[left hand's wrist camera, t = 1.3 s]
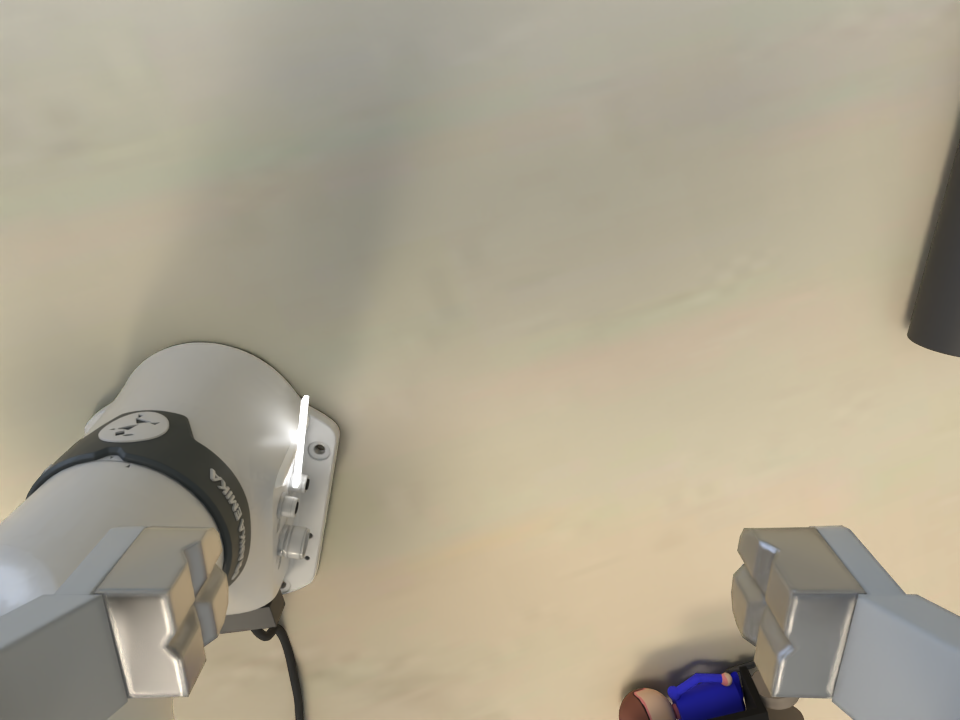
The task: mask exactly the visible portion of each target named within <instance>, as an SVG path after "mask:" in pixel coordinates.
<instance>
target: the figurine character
mask: <svg viewBox="0 0 960 720" xmlns="http://www.w3.org/2000/svg"><path fill="white" fill-rule="evenodd" d="M755 666H756V664H755V662H754V661H751V662H748V663H745V664H741V665H738V666H735V667H732V668H729V669H727V670H726V671H725V672H724V673H722V674H705V673H695V674H694V675H693V676H691V677H690V678H689V679H687V680H686V681H684V682H683V683H681V684H680V685H678V686H677V687H676V686H670V687H669V688H668V690H667V692H668V695H669V697H670V698H671V699H672V702H673V704H672V705H671V703H670V702H669V701H668V699H667V698H666V697H665V696H664V695H663V694H661V693H660V692H658V691H656V690H654V689H651V688H638V689H635V690H633V691H631V692H630V693H629V694H628V695H627V696H626V697H625V698H624V699H623V701H622V703H621V706H620V710H619V720H676V718H677V720H678V719H679V720H804V718H803V715H802V713H801V712H800V711H799V710H798V709H797V708H795V707H794V706H793V705H794V704H795V703H796V702H797V701H798V699H799V698H797V697H772V696H771V694H770V692H769V690H768V688H767V686H766V684H765V682H764V680H763V678H762V676H761V674H760V672H759V670H757V671H756V672H755V673H754V674H753V676H752V678H751V675H750V673H749V671H748V669H751V668H754V667H755ZM738 672H740V675H741V681H742V687H741V683H740V680H739V676H738ZM698 683H700V684H698ZM743 697H744V699H745V704H746V707H745V704H744V701H743Z"/></svg>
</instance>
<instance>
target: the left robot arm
mask: <svg viewBox="0 0 960 720" xmlns="http://www.w3.org/2000/svg"><path fill="white" fill-rule="evenodd" d="M308 400H309V396H305V395H304V397H303V399H301V398H300V396H299V395H298V394H297V393H296V391H295V390H294V389H293V388H292V386H291V385H290V384H289V383H288V382H287V381H286V380H285V378H284V377H283V376H282V375H280V374H279V373H278V372H277V371H276V370H275V369H274V368H272V367H271V366H270V365H268V364H267V363H265V362H264V361H262V360H261V359H259V358H257V357H255V356H254V355H252V354H249V353H247V352H245V351H242V350H240V349H237V348H234V347H231V346H227V345H222V344H217V343H206V342H194V343H185V344H179V345H175V346H171V347H168V348H166V349H163V350H161V351H159V352H157V353H155V354H153V355H151V356H150V357H148V358H147V359H146V360H144V361H143V362H142V363H141V364H140V365H139V366H138V367H137V368H136V369H135V370H134V371H133V372H132V374H131V375H130V376H129V378H128V380H127V381H126V383H125V385H124V387H123V388H122V390H121V391H120V393H119V394H118V396H117V397H116V398H115V400H114V401H113V402H112V403H110V404H108V405H107V406H105V407H104V408H102V409H101V410H99V411H98V412H97V413H96V414H95V415H94V416H93V417H92V418H91V419H90V420H89V421H88V423H87V424H86V426H85V435H84V437H83V438H82V439H81V440H79V441H78V442H77V443H76V444H74V445H73V446H72V447H71V448H70V449H69V450H68V451H67V452H65V453H64V454H63V455H62V456H61V457H60V458H59V459H58V460H57V461H56V462H55V463H54V464H51V465H50V466H49V467H47V468H46V469H45V470H44V472H43V473H42V475H41V476H40V477H39V478H38V480H37V481H36V482H35V483H34V484H33V486H32V488H31V489H30V491H29V493H28V494H27V497H26V500H25V501H24V502H23V503H22V504H21V505H19V506H18V507H17V508H16V509H15V510H14V511H13V512H12V513H11V514H9V515H8V516H7V517H6V518H5V519H4V520H3V521H2V522H1V523H0V720H174V714H173V697H188V696H189V694H190V692H191V690H192V688H193V686H194V684H195V682H196V680H197V678H198V676H199V674H200V672H201V670H202V668H203V666H204V664H205V662H206V656H205V650H204V647H205V646H206V645H207V644H209V643H210V642H212V641H213V640H214V639H216V638H217V637H218V635H219V634H223V633H231V632H239V631H247V630H251V631H252V632H253V634H254V635H255V636H256V637H257V638H259V639H260V640H262V641H269V640H270V639H271V638H272V637H273V636H274V635H275V634H276V635H277V636H278V638H279V640H280V642H281V644H282V647H283V650H284V654H285V658H286V662H287V666H288V671H289V676H290V681H291V686H292V690H293V696H294V703H295V717H296V720H304V719H303V703H302V695H301V689H300V684H299V679H298V674H297V669H296V664H295V659H294V655H293V651H292V648H291V645H290V642H289V639H288V637H287V634H286V632H285V630H284V629H283V628H282V627H281V626H280V625H279V624H278V622H279V619H280V616H281V614H282V611H283V608H284V606H285V602H284V599H283V596H282V595H283V594H287V593H290V592H293V591H296V590H298V589H301V588H303V587H305V586H307V585H308V584H310V583H311V582H312V581H313V580H314V578H315V576H316V574H317V571H318V566H319V561H320V555H321V549H322V543H323V536H324V530H325V524H326V518H327V512H328V506H329V500H330V493H331V487H332V481H333V475H334V469H335V463H336V457H337V450H338V444H339V438H340V430H339V427H338V426H337V424H336V423H335V422H334V421H333V420H332V419H330V418H329V417H328V416H326V415H325V414H323V413H321V412H320V411H318V410H316V409H315V408H313V407H311V406H309V405H308ZM316 445H322V446H323V447H324V448H325V450H319V449H318V448H317V447H316ZM737 551H738V553H739V554H740V556H741V558H742V560H743V562H744V564H743V565H742V566H741V567H740V568H739V569H738V570H737V571H736V572H735V573H734V574H733V582H732V590H731V597H732V609H733V614H734V617H735V621H736V624H737V626H738V629H739V631H740V633H741V635H742V637H743V638H744V639H746V640H747V641H748V642H750V643H751V644H753V645H754V646H755V647H756V650H755V656H754V662H755V664H756V666H757V668H758V670H759V672H760V674H761V676H762V678H763V680H764V682H765V684H766V686H767V688H768V690H769V692H770V694H771V696H772V697H797V698H832V702H833V703H834V704H836V705H837V706H838V707H839V708H840V709H841V710H843V711H844V712H845V713H846V714H847V715H848V716H850V717H851V718H852V719H853V720H960V616H958V615H956V614H954V613H952V612H950V611H948V610H946V609H944V608H942V607H940V606H938V605H936V604H934V603H932V602H930V601H929V600H927V599H925V598H923V597H921V596H919V595H909V594H905V592H904V591H903V590H902V589H901V588H900V587H899V585H898V584H897V583H896V582H895V581H894V580H893V579H892V577H891V576H890V575H889V574H888V573H887V572H886V570H885V569H884V568H883V567H882V566H881V565H880V564H879V562H878V561H877V560H876V559H875V558H874V557H873V555H872V554H871V553H870V552H869V551H868V550H867V548H866V547H865V546H864V545H863V544H862V543H861V542H860V540H859V539H858V538H857V537H856V536H855V535H854V533H853V532H852V531H851V530H850V529H848V528H846V527H844V526H842V525H841V526H810V527H794V528H744V529H743V531H742V533H741V535H740V539H739V544H738V550H737ZM283 581H284V582H285V583H282V582H283ZM264 628H269V629H268V630H267V632H266V631H264V630H263V629H264Z"/></svg>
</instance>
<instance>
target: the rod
mask: <svg viewBox="0 0 960 720" xmlns="http://www.w3.org/2000/svg"><path fill="white" fill-rule="evenodd" d="M907 336H908V338H909V339H910V340H911V341H913V342H914V343H916V344H918V345H920V346H922V347H924V348H927V349H930V350H933V351H936V352H940V353H943V354H947V355H952V356H957V357H960V141H959V145H958V148H957V152H956V156H955V159H954V163H953V167H952V171H951V174H950V178H949V182H948V185H947V189H946V193H945V196H944V200H943V204H942V208H941V211H940V215H939V219H938V222H937V226H936V230H935V233H934V237H933V241H932V244H931V248H930V252H929V256H928V259H927V263H926V267H925V270H924V274H923V278H922V281H921V285H920V289H919V292H918V296H917V300H916V304H915V307H914V311H913V315H912V318H911V322H910V326H909V329H908V333H907Z"/></svg>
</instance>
